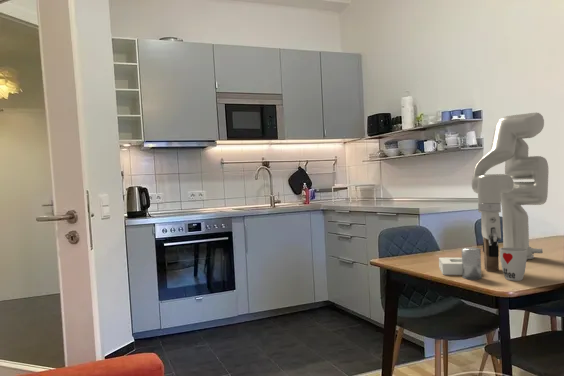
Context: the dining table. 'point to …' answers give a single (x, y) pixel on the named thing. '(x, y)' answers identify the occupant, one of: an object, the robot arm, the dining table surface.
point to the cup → (513, 262)
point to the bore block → (450, 266)
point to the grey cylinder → (471, 263)
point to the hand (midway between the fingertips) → (490, 254)
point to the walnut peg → (490, 258)
